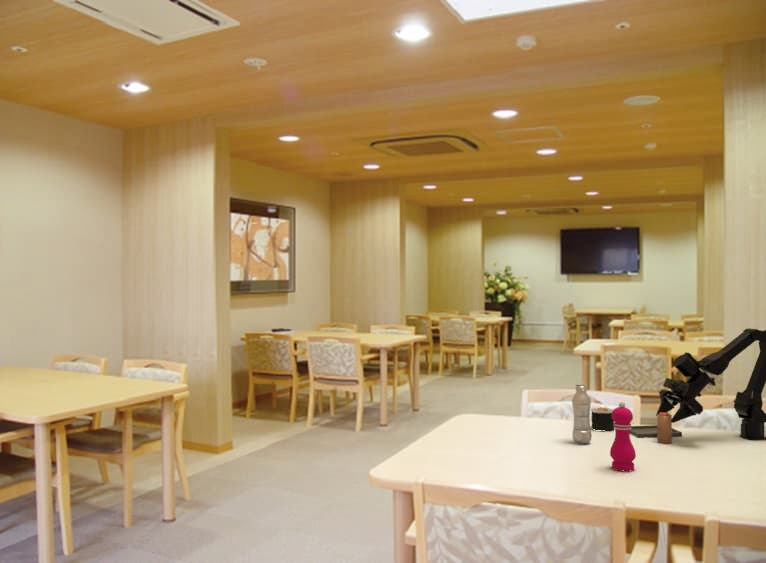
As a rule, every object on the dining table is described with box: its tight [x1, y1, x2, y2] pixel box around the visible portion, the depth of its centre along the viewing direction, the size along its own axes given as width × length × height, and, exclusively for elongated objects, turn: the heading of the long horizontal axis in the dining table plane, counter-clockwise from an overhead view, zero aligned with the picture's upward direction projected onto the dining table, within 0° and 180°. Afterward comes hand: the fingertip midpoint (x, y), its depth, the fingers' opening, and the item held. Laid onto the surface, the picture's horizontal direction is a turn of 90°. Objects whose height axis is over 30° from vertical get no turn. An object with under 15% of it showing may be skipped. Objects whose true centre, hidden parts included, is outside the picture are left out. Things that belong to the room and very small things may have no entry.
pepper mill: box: [609, 401, 637, 472], centre depth 197 cm, size 7×7×20 cm
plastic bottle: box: [571, 384, 593, 444], centre depth 228 cm, size 6×7×20 cm
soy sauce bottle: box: [656, 412, 673, 445], centre depth 226 cm, size 5×5×10 cm
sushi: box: [590, 406, 615, 432], centre depth 247 cm, size 8×8×8 cm
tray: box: [629, 424, 683, 439], centre depth 240 cm, size 16×12×1 cm
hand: (664, 419), depth 226 cm, fingers open, 9 cm apart
